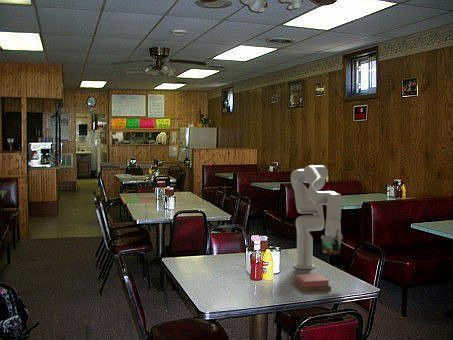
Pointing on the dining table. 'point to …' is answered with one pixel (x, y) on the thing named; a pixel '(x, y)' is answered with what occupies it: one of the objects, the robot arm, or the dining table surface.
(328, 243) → the food container
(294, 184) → the robot arm
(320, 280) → the pink square slab
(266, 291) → the dining table surface
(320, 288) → the walnut slab
